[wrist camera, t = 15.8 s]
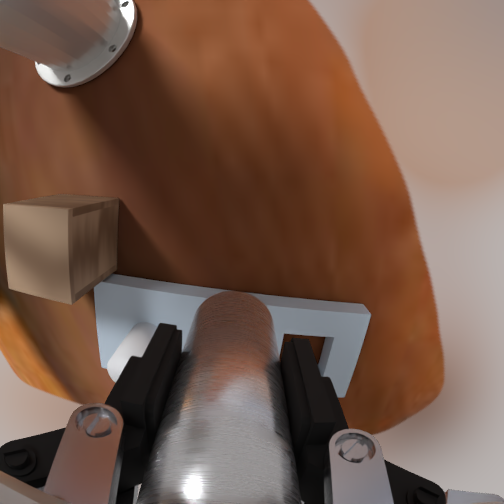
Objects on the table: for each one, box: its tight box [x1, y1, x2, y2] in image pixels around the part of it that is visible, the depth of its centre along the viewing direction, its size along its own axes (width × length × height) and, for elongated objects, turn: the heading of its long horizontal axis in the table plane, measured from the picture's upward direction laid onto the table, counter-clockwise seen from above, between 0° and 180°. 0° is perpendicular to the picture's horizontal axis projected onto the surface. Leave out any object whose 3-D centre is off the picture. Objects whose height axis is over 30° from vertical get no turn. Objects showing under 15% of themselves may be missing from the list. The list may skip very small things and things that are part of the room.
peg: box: [136, 291, 302, 504], centre depth 8 cm, size 3×3×10 cm
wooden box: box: [3, 194, 119, 305], centre depth 23 cm, size 7×7×9 cm
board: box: [94, 274, 371, 397], centre depth 26 cm, size 10×26×8 cm, turn 83°
